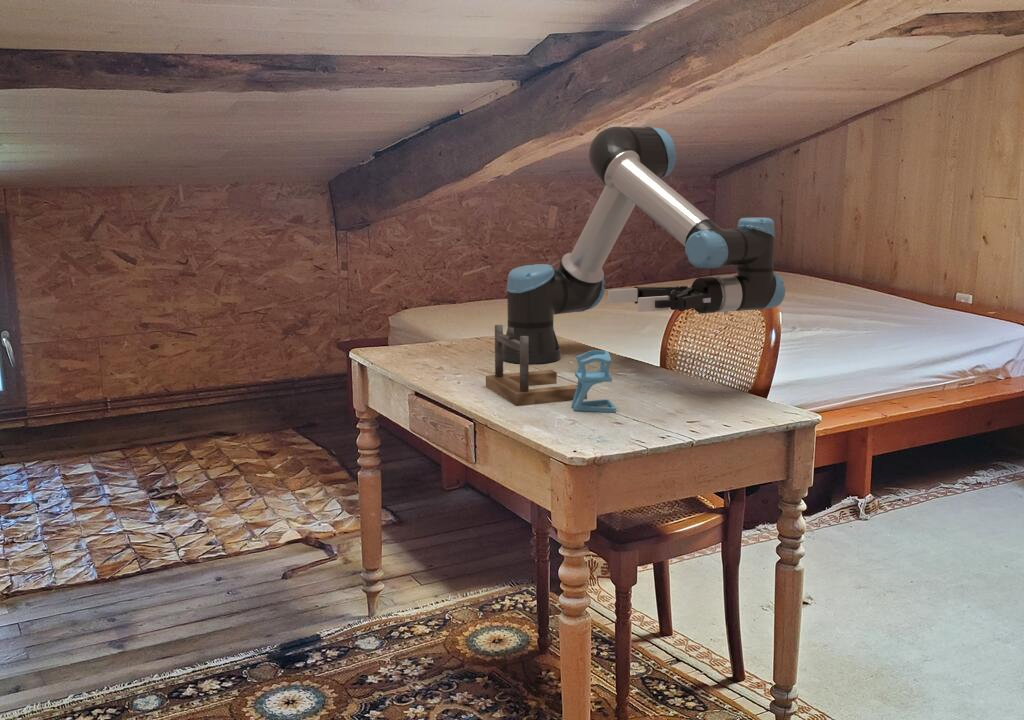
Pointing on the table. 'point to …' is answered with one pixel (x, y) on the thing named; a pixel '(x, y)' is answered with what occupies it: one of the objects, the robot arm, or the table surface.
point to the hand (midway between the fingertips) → (623, 300)
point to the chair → (592, 382)
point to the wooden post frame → (524, 376)
